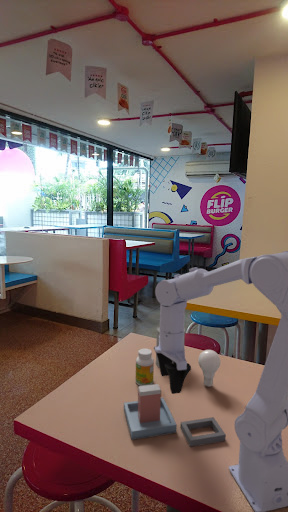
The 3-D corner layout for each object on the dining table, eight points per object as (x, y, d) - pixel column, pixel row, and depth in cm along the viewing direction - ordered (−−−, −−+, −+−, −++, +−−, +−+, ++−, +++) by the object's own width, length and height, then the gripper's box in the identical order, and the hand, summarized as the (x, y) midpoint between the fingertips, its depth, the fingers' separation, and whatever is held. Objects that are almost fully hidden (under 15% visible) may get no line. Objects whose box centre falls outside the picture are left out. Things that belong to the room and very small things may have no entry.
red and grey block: (160, 420, 73) (160, 389, 72) (139, 423, 72) (140, 392, 71) (157, 413, 75) (157, 383, 74) (137, 416, 74) (138, 386, 73)
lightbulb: (219, 393, 85) (221, 357, 84) (196, 390, 86) (198, 354, 85) (218, 381, 91) (220, 347, 90) (197, 378, 93) (199, 345, 91)
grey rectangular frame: (225, 440, 67) (225, 434, 67) (189, 446, 65) (190, 440, 65) (213, 422, 73) (213, 417, 73) (180, 427, 71) (180, 422, 71)
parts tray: (176, 432, 70) (176, 424, 69) (131, 439, 67) (131, 431, 67) (163, 404, 80) (163, 397, 80) (123, 409, 77) (123, 402, 77)
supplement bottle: (132, 383, 89) (132, 352, 88) (140, 375, 94) (141, 345, 93) (148, 388, 87) (149, 357, 86) (156, 379, 92) (157, 349, 90)
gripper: (147, 320, 76) (146, 370, 78) (165, 343, 62) (163, 404, 64) (173, 318, 78) (172, 367, 80) (196, 340, 64) (194, 399, 66)
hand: (170, 383), depth 72 cm, fingers open, 7 cm apart
